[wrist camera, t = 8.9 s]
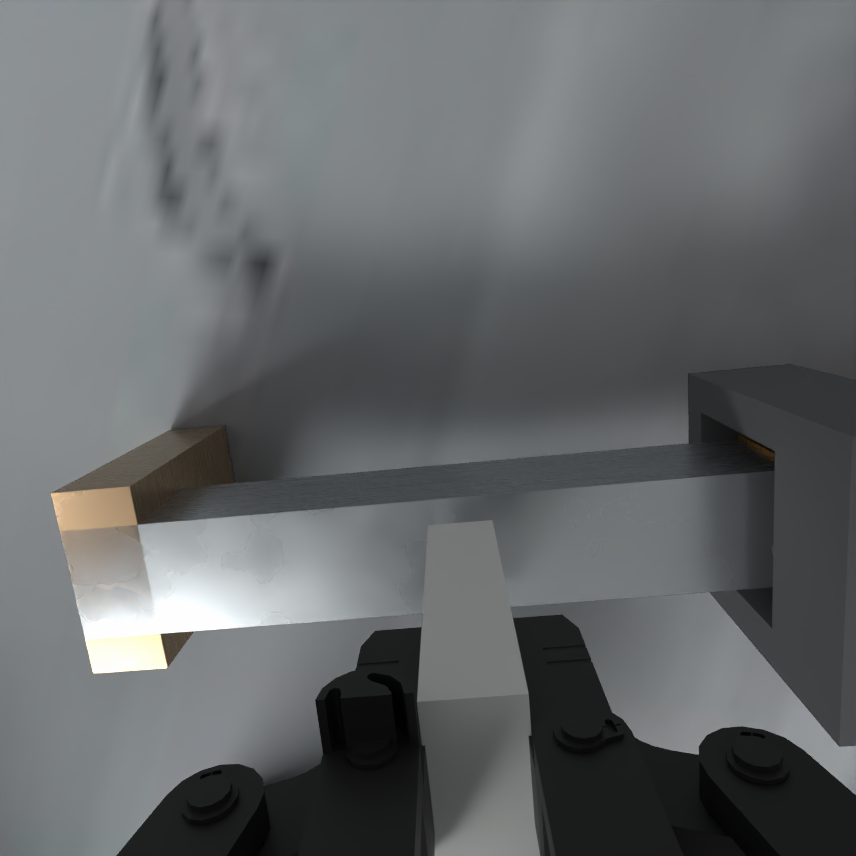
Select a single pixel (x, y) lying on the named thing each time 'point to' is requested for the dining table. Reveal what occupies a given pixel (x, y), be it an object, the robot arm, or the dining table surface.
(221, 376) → the dining table surface
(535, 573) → the grey long bar
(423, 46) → the dining table surface
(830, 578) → the grey notched bracket
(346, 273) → the dining table surface
